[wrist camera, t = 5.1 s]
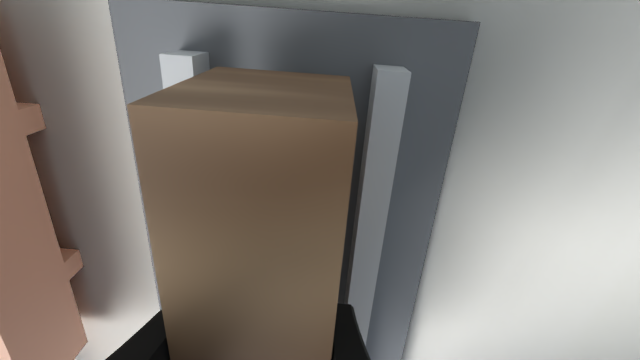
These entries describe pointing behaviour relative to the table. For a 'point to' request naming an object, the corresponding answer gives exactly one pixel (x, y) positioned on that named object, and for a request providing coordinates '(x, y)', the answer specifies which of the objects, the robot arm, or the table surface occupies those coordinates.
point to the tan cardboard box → (247, 209)
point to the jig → (372, 113)
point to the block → (31, 249)
